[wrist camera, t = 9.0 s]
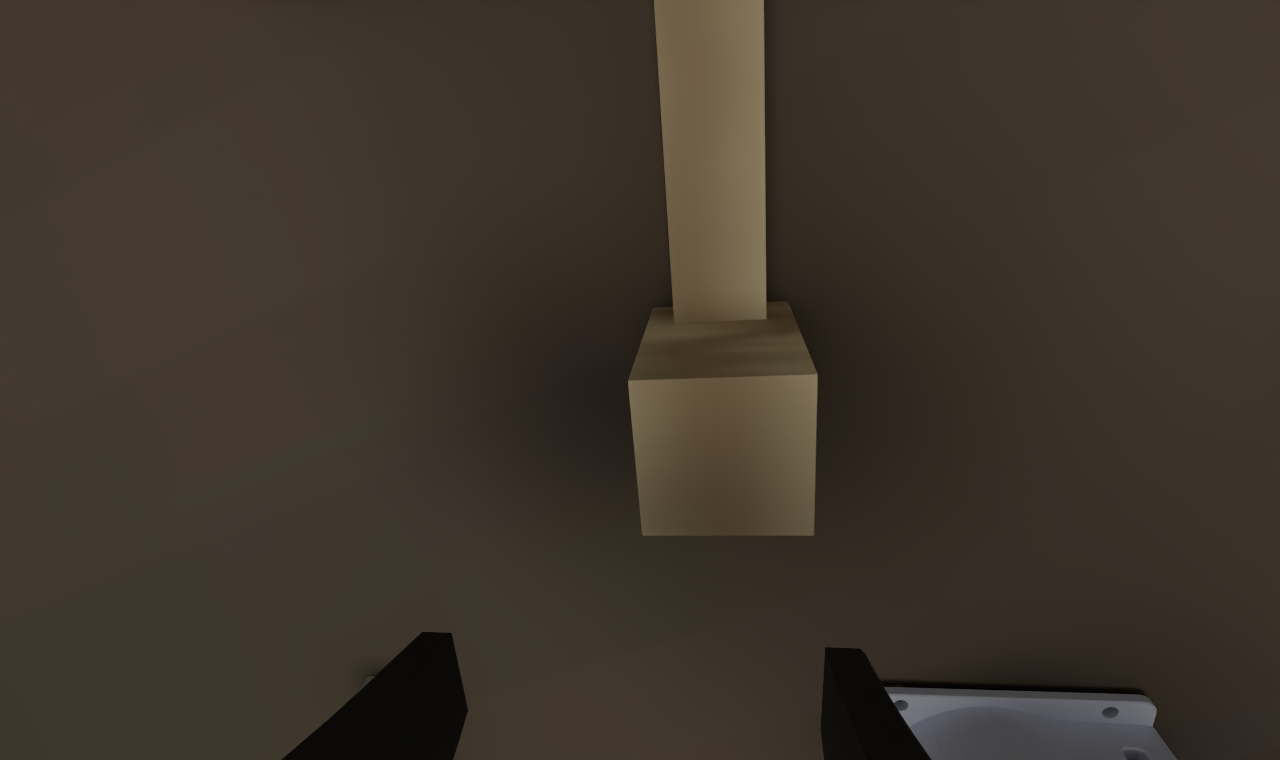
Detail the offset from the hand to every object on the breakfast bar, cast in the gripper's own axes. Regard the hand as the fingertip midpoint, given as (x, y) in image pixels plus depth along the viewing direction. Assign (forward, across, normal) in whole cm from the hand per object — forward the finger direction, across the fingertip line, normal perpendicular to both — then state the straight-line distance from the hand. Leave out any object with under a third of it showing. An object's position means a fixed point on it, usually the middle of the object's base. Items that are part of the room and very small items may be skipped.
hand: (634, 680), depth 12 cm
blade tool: (+10, -2, -9) cm, 13 cm away
